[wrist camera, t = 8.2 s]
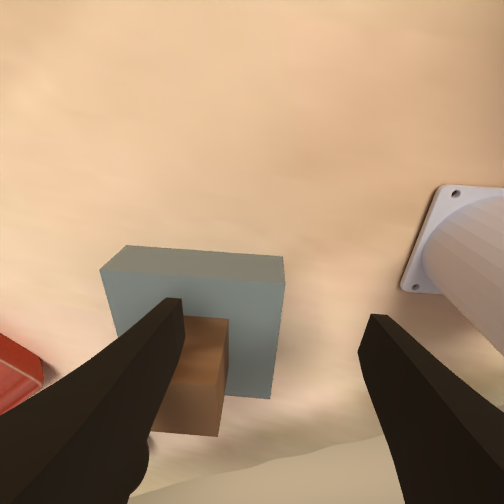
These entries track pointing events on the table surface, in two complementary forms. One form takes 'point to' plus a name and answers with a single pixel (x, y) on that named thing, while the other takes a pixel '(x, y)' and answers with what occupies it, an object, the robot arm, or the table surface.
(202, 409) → the walnut cube
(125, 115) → the table surface
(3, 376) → the plant saucer
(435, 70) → the table surface
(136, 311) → the slate-blue block
